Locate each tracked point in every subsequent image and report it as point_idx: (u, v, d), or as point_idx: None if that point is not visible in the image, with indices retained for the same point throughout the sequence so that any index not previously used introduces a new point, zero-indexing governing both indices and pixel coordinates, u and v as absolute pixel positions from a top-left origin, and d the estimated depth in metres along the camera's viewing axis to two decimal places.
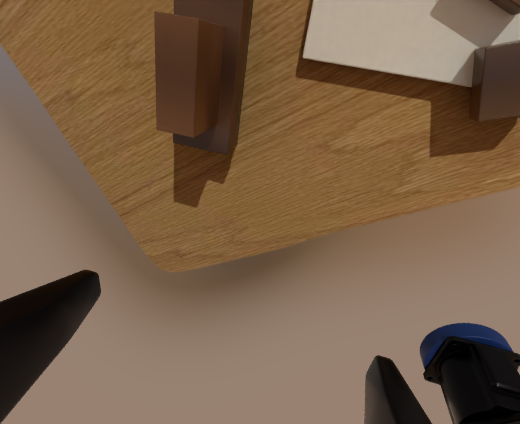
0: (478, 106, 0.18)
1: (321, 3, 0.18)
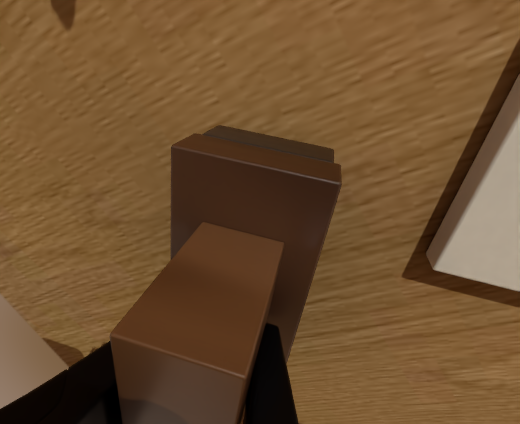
0: None
1: (501, 190, 0.08)
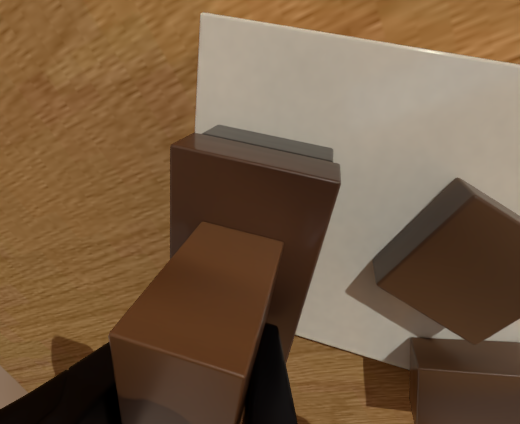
0: (415, 415, 0.12)
1: None
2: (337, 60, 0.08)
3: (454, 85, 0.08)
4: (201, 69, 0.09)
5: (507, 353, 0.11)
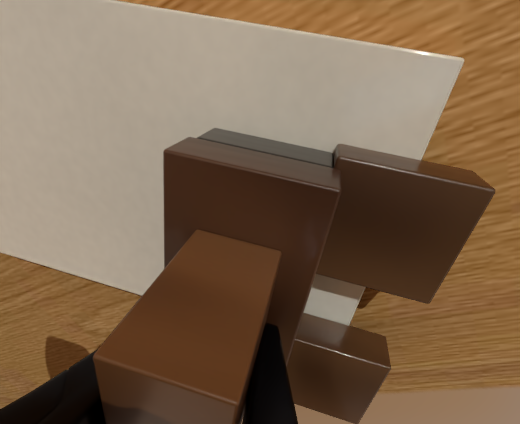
0: None
1: None
2: (11, 5, 0.10)
3: (101, 25, 0.09)
4: None
5: (365, 341, 0.12)
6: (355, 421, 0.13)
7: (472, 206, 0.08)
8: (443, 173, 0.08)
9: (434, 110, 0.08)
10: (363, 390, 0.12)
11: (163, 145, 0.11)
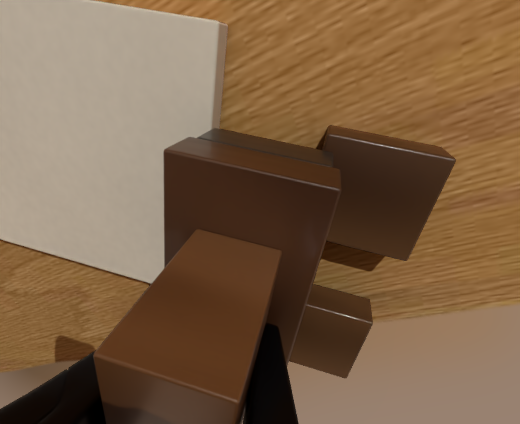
0: None
1: None
2: None
3: None
4: None
5: (352, 302, 0.13)
6: (344, 375, 0.14)
7: (438, 173, 0.09)
8: (415, 147, 0.10)
9: (209, 66, 0.10)
10: (350, 345, 0.13)
11: (19, 105, 0.12)
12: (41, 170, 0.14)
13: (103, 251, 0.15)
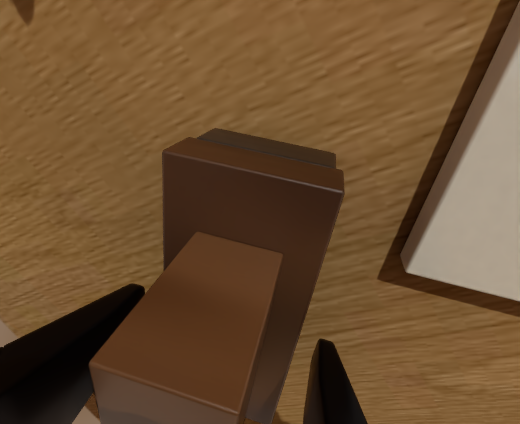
0: None
1: (471, 189, 0.08)
2: None
3: None
4: None
5: None
6: None
7: None
8: None
9: None
10: None
11: None
12: None
13: None
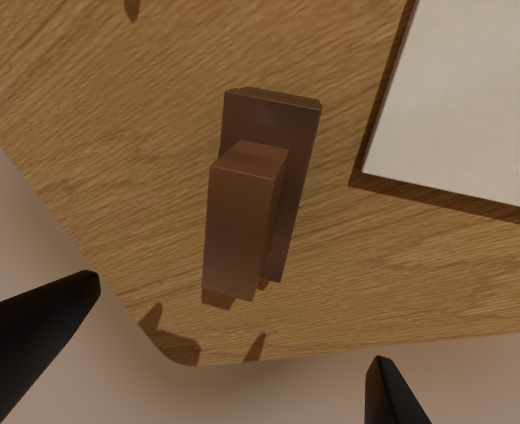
0: None
1: (393, 115, 0.14)
2: None
3: None
4: None
5: None
6: None
7: None
8: None
9: None
10: None
11: None
12: None
13: None
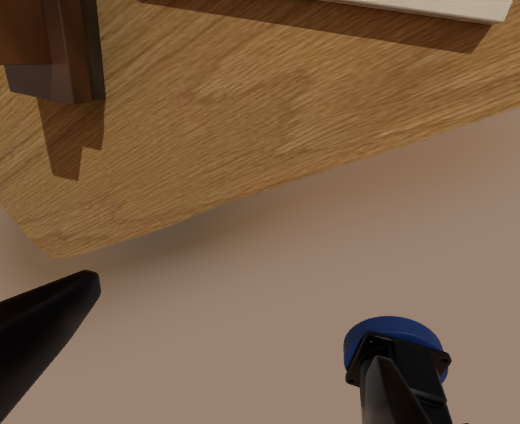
0: None
1: None
2: None
3: None
4: None
5: None
6: None
7: None
8: None
9: None
10: None
11: None
12: None
13: None
